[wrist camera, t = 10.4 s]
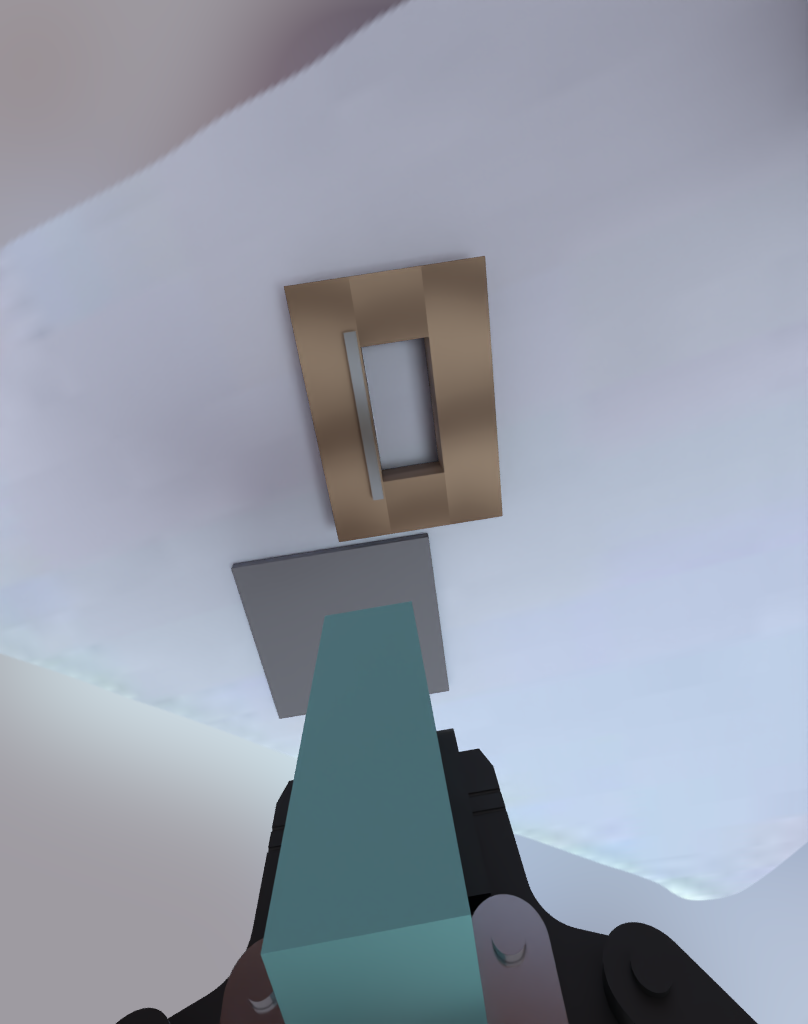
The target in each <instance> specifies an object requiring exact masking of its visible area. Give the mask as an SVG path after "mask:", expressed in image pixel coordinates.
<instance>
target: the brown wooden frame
mask: <svg viewBox="0 0 808 1024" xmlns="http://www.w3.org/2000/svg"><path fill="white" fill-rule="evenodd" d="M284 290H285V294H286V299H287V304H288V308H289V313H290V317H291V322H292V327H293V331H294V336H295V341H296V345H297V350H298V354H299V359H300V364H301V368H302V373H303V378H304V382H305V387H306V391H307V396H308V401H309V405H310V410H311V415H312V419H313V424H314V428H315V433H316V438H317V442H318V447H319V451H320V456H321V461H322V465H323V470H324V475H325V479H326V484H327V488H328V493H329V498H330V502H331V507H332V512H333V516H334V521H335V525H336V530H337V535H338V539H339V542H343V541H349V540H356V539H362V538H368V537H374V536H381V535H387V534H393V533H399V532H406V531H412V530H418V529H424V528H431V527H437V526H443V525H449V524H456V523H462V522H468V521H474V520H481V519H487V518H493V517H499V516H503V515H502V500H501V486H500V471H499V456H498V441H497V426H496V411H495V397H494V382H493V367H492V352H491V337H490V322H489V308H488V293H487V278H486V263H485V256H481V257H474V258H468V259H461V260H455V261H448V262H442V263H435V264H428V265H422V266H415V267H409V268H402V269H395V270H389V271H382V272H376V273H369V274H363V275H356V276H349V277H343V278H336V279H330V280H323V281H316V282H310V283H303V284H297V285H290V286H284ZM418 338H424V343H425V352H426V360H427V369H428V377H429V386H430V394H431V403H432V411H433V420H434V428H435V436H436V445H437V453H438V461H436V462H430V463H424V464H417V465H411V466H405V467H398V468H392V469H386V470H382V468H381V462H380V456H379V450H378V444H377V438H376V432H375V426H374V420H373V414H372V408H371V402H370V396H369V390H368V384H367V378H366V372H365V366H364V360H363V354H362V348H361V347H366V346H372V345H379V344H385V343H392V342H398V341H405V340H411V339H418Z"/></svg>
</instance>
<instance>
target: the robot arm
mask: <svg viewBox="0 0 808 1024" xmlns="http://www.w3.org/2000/svg"><path fill="white" fill-rule="evenodd" d="M436 733H437V738H438V743H439V748H440V754H441V759H442V764H443V770H444V775H445V780H446V786H447V791H448V796H449V801H450V807H451V812H452V817H453V823H454V828H455V833H456V839H457V844H458V849H459V854H460V860H461V865H462V870H463V876H464V881H465V886H466V891H467V897H468V902H469V907H470V913H471V919H472V925H473V932H474V938H475V945H476V952H477V958H478V965H479V971H480V978H481V984H482V991H483V997H484V1004H485V1011H486V1017H487V1024H757V1023H756V1022H755V1021H754V1020H753V1019H752V1018H751V1017H750V1016H749V1015H748V1014H747V1013H746V1012H745V1011H744V1010H743V1009H742V1008H741V1007H740V1006H739V1005H738V1004H737V1003H736V1002H735V1001H734V1000H733V999H732V998H731V997H730V996H729V995H728V994H727V993H726V992H725V991H724V990H723V989H722V988H721V987H720V986H719V985H718V984H717V983H716V982H715V981H714V980H713V979H712V978H711V977H710V976H709V975H708V974H707V973H706V972H705V971H704V970H702V969H701V968H700V967H699V966H698V965H697V964H696V963H695V962H694V961H693V960H692V959H691V958H690V957H689V956H688V955H687V954H686V953H685V952H684V951H683V950H682V949H681V948H680V947H679V946H678V945H677V944H676V943H675V942H674V941H673V940H672V939H671V938H669V937H668V936H667V935H666V934H664V933H662V932H661V931H660V930H658V929H655V928H654V927H652V926H649V925H646V924H643V923H637V922H631V923H625V924H621V925H619V926H618V927H616V928H615V929H614V930H613V931H611V933H610V934H609V936H608V935H604V934H599V933H595V932H590V931H586V930H582V929H577V928H574V927H570V926H567V925H565V924H563V923H561V922H559V921H558V920H556V919H555V918H553V917H552V916H550V914H548V913H547V912H546V911H545V910H544V909H543V908H542V907H541V905H540V904H539V903H538V901H537V900H536V899H535V897H534V895H533V893H532V891H531V889H530V887H529V884H528V881H527V878H526V874H525V871H524V868H523V864H522V861H521V858H520V855H519V851H518V848H517V844H516V841H515V838H514V834H513V831H512V828H511V824H510V821H509V818H508V814H507V811H506V809H505V804H504V801H503V798H502V794H501V792H500V788H499V784H498V781H497V778H496V774H495V771H494V768H493V765H492V764H491V763H490V762H489V760H488V759H487V758H486V757H485V755H484V754H483V753H482V752H481V751H480V749H474V750H468V751H462V752H459V751H458V746H457V742H456V738H455V733H454V730H453V728H452V729H447V730H441V731H436ZM293 781H294V780H292V781H289V782H288V784H287V786H286V788H285V790H284V791H283V793H282V795H281V797H280V798H279V800H278V802H277V804H276V809H275V815H274V820H273V825H272V832H271V836H270V841H269V846H268V848H269V851H268V853H267V857H266V862H265V867H264V873H263V878H262V883H261V888H260V893H259V899H258V904H257V909H256V914H255V920H254V926H253V930H252V934H251V939H250V941H249V944H248V947H247V950H246V951H245V952H244V954H243V955H242V956H241V958H240V959H239V960H238V961H237V963H236V965H235V966H234V968H233V970H232V972H231V974H230V976H229V977H228V979H226V980H225V981H224V983H222V984H221V985H220V986H219V987H218V988H217V989H215V990H214V991H213V992H211V993H210V994H208V995H207V996H205V997H203V998H202V999H200V1000H198V1001H197V1002H195V1003H193V1004H191V1005H190V1006H188V1007H187V1008H185V1009H183V1010H181V1011H180V1012H178V1013H176V1014H175V1015H173V1016H172V1017H170V1018H168V1019H167V1017H166V1016H165V1015H164V1014H163V1013H162V1012H161V1011H159V1010H157V1009H154V1008H143V1009H140V1010H137V1011H134V1012H132V1013H130V1014H128V1015H127V1016H125V1017H124V1018H122V1019H121V1020H120V1021H118V1022H117V1023H116V1024H285V1022H284V1019H283V1016H282V1014H281V1011H280V1008H279V1005H278V1002H277V999H276V997H275V994H274V991H273V988H272V985H271V982H270V979H269V977H268V974H267V971H266V968H265V965H264V962H263V960H262V957H261V950H262V945H263V939H264V934H265V929H266V923H267V918H268V913H269V908H270V902H271V897H272V892H273V887H274V881H275V876H276V871H277V865H278V860H279V855H280V850H281V844H282V839H283V834H284V829H285V823H286V818H287V813H288V807H289V802H290V797H291V792H292V786H293Z"/></svg>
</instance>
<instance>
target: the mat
mask: <svg viewBox="0 0 808 1024" xmlns="http://www.w3.org/2000/svg"><path fill="white" fill-rule="evenodd" d="M231 569H232V572H233V575H234V579H235V582H236V585H237V588H238V591H239V594H240V597H241V600H242V603H243V607H244V610H245V613H246V616H247V619H248V622H249V625H250V628H251V631H252V635H253V638H254V641H255V644H256V647H257V650H258V653H259V656H260V660H261V663H262V666H263V669H264V672H265V675H266V678H267V681H268V684H269V688H270V691H271V694H272V697H273V700H274V703H275V706H276V709H277V712H278V716H279V719H281V718H287V717H293V716H299V715H305V714H306V713H307V707H308V702H309V697H310V691H311V686H312V681H313V676H314V670H315V665H316V660H317V655H318V649H319V644H320V639H321V634H322V628H323V623H324V618H325V616H327V615H333V614H339V613H345V612H351V611H357V610H363V609H368V608H374V607H380V606H386V605H392V604H398V603H404V602H410V601H412V606H413V611H414V616H415V621H416V627H417V632H418V637H419V643H420V648H421V653H422V658H423V664H424V669H425V674H426V680H427V685H428V690H429V694H433V693H439V692H445V691H449V685H448V678H447V671H446V663H445V656H444V648H443V641H442V634H441V626H440V619H439V611H438V604H437V597H436V589H435V582H434V574H433V567H432V560H431V552H430V545H429V537H428V534H427V533H426V534H420V535H414V536H407V537H401V538H395V539H389V540H382V541H376V542H370V543H364V544H357V545H351V546H345V547H339V548H332V549H326V550H320V551H314V552H307V553H301V554H295V555H289V556H282V557H276V558H270V559H264V560H257V561H251V562H245V563H239V564H234V565H233V567H232V568H231Z"/></svg>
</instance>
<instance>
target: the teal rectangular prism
mask: <svg viewBox="0 0 808 1024" xmlns="http://www.w3.org/2000/svg"><path fill="white" fill-rule="evenodd" d="M261 957H262V960H263V962H264V965H265V968H266V971H267V974H268V977H269V979H270V982H271V985H272V988H273V991H274V994H275V997H276V999H277V1002H278V1005H279V1008H280V1011H281V1014H282V1016H283V1019H284V1022H285V1024H487V1017H486V1011H485V1004H484V997H483V991H482V984H481V978H480V971H479V965H478V958H477V952H476V945H475V938H474V932H473V925H472V919H471V913H470V907H469V902H468V897H467V891H466V886H465V881H464V876H463V870H462V865H461V860H460V854H459V849H458V844H457V839H456V833H455V828H454V823H453V817H452V812H451V807H450V801H449V796H448V791H447V786H446V780H445V775H444V770H443V764H442V759H441V754H440V748H439V743H438V738H437V733H436V727H435V722H434V717H433V711H432V706H431V701H430V696H429V690H428V685H427V680H426V674H425V669H424V664H423V658H422V653H421V648H420V643H419V637H418V632H417V627H416V621H415V616H414V611H413V606H412V601H410V602H404V603H398V604H392V605H386V606H380V607H374V608H368V609H363V610H357V611H351V612H345V613H339V614H333V615H327V616H325V618H324V623H323V628H322V634H321V639H320V644H319V649H318V655H317V660H316V665H315V670H314V676H313V681H312V686H311V691H310V697H309V702H308V707H307V713H306V718H305V723H304V728H303V734H302V739H301V744H300V749H299V755H298V760H297V765H296V771H295V776H294V781H293V786H292V792H291V797H290V802H289V807H288V813H287V818H286V823H285V829H284V834H283V839H282V844H281V850H280V855H279V860H278V865H277V871H276V876H275V881H274V887H273V892H272V897H271V902H270V908H269V913H268V918H267V923H266V929H265V934H264V939H263V945H262V950H261Z"/></svg>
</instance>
